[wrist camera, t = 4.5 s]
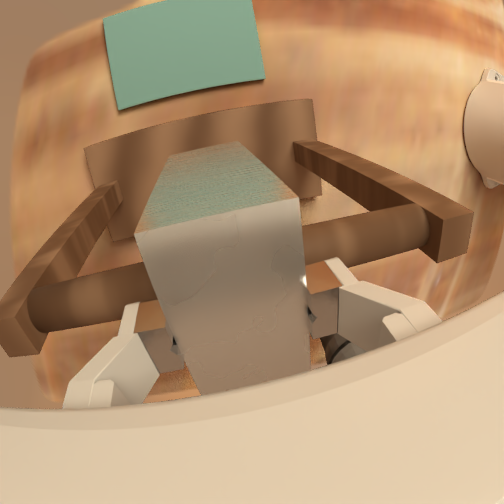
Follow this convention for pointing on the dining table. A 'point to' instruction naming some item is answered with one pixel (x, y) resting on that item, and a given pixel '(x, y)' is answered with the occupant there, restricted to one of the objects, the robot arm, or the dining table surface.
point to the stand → (273, 157)
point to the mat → (181, 48)
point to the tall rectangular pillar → (228, 267)
